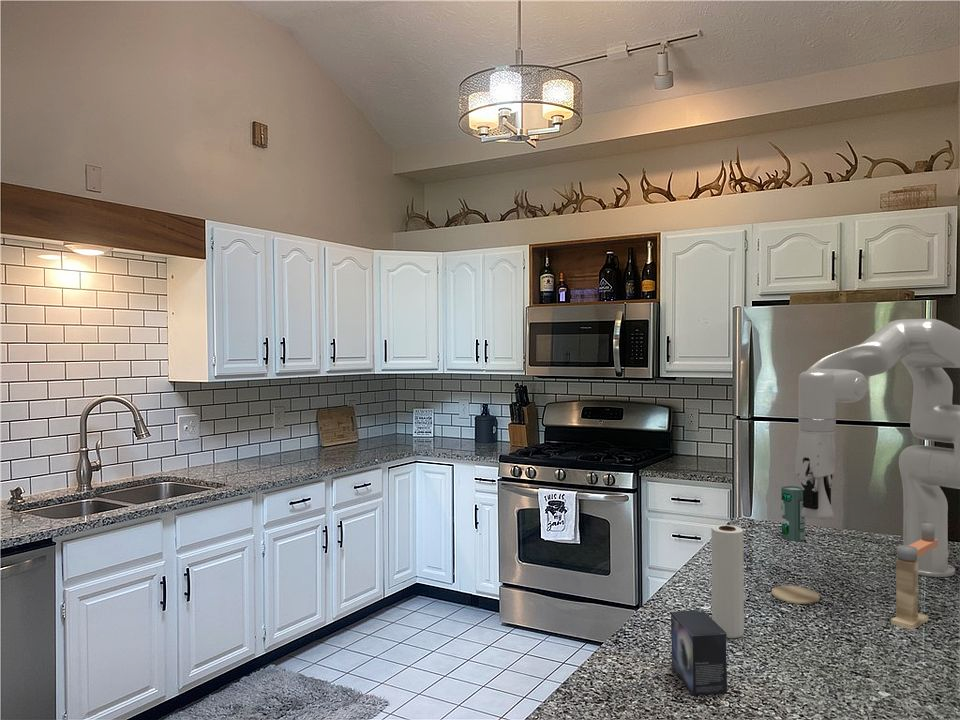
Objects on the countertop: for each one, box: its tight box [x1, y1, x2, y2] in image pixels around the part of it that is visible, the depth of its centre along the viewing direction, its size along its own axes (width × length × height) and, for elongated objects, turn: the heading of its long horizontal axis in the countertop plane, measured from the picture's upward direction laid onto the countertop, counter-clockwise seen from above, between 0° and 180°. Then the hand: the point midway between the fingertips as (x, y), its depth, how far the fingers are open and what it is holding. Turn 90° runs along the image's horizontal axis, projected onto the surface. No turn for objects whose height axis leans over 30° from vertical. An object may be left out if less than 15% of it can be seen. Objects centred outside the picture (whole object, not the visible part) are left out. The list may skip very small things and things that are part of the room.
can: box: [780, 485, 806, 542], centre depth 208 cm, size 6×6×15 cm
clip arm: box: [896, 523, 938, 561], centre depth 149 cm, size 4×16×5 cm, turn 129°
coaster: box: [771, 585, 820, 605], centre depth 161 cm, size 10×10×1 cm
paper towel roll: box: [711, 522, 745, 639], centre depth 141 cm, size 7×6×21 cm
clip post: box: [890, 558, 929, 631], centre depth 145 cm, size 8×4×13 cm, turn 127°
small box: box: [670, 609, 729, 696], centre depth 122 cm, size 11×6×10 cm, turn 5°
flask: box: [800, 474, 835, 520], centre depth 158 cm, size 7×7×10 cm
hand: (817, 505), depth 158 cm, fingers closed on flask, 5 cm apart
